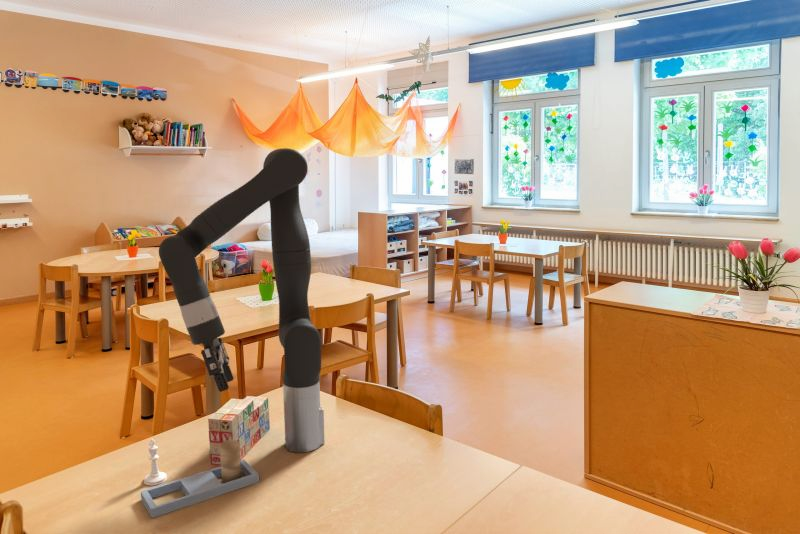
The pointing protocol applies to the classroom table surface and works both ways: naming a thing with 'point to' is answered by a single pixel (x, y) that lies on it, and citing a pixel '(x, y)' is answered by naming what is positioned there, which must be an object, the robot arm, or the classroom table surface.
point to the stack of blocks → (238, 425)
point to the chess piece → (154, 468)
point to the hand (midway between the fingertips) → (227, 385)
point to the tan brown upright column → (230, 460)
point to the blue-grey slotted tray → (196, 489)
